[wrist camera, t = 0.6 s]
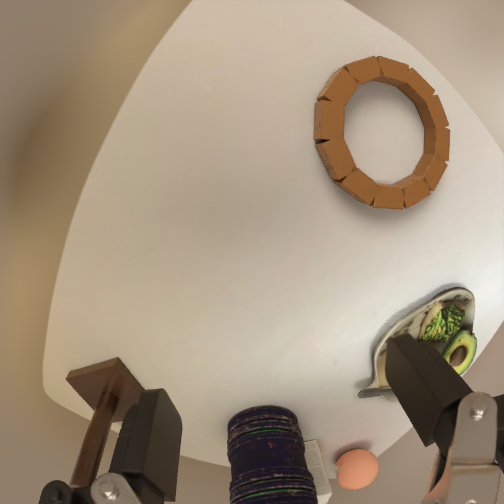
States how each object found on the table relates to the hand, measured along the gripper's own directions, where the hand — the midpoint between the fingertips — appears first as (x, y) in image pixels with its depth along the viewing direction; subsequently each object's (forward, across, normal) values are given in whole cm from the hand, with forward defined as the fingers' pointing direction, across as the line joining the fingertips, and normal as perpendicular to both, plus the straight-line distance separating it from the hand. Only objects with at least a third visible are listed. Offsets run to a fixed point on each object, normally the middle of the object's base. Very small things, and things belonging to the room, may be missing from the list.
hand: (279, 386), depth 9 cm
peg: (+18, +21, +15) cm, 31 cm away
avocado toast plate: (+18, -20, +20) cm, 34 cm away
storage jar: (+18, +4, +26) cm, 32 cm away
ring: (+18, -14, -7) cm, 24 cm away
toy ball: (+18, -9, +42) cm, 47 cm away
